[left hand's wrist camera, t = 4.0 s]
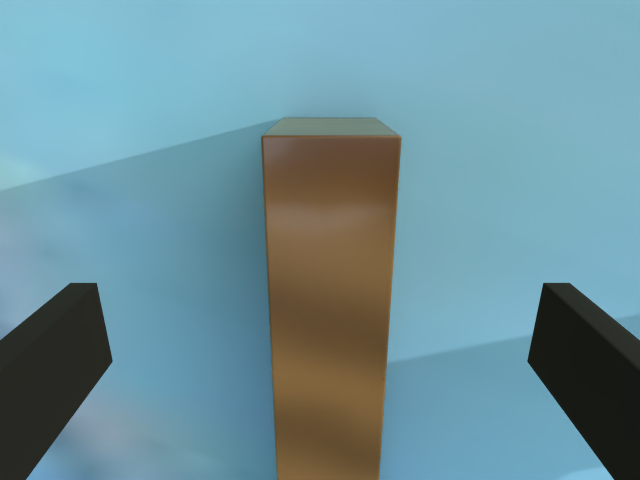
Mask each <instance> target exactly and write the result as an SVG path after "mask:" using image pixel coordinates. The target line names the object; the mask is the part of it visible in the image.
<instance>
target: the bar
mask: <svg viewBox="0 0 640 480" xmlns="http://www.w3.org/2000/svg"><path fill="white" fill-rule="evenodd" d="M261 147H262V169H263V190H264V212H265V233H266V254H267V276H268V297H269V318H270V340H271V361H272V382H273V404H274V425H275V446H276V468H277V480H379V474H380V459H381V444H382V428H383V413H384V398H385V382H386V367H387V351H388V336H389V321H390V305H391V290H392V274H393V259H394V244H395V228H396V213H397V198H398V182H399V167H400V151H401V136H400V135H399V134H397V133H396V132H394V131H393V130H392V129H390V128H389V127H388V126H386V125H385V124H383V123H382V122H381V121H379V120H378V119H377V118H282V119H281V120H280V121H279V122H277V123H276V124H275V125H274V126H273V127H272V128H270V129H269V130H268V131H267V132H266V133H265V134H263V135H262V137H261Z"/></svg>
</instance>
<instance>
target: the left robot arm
mask: <svg viewBox="0 0 640 480" xmlns="http://www.w3.org/2000/svg"><path fill="white" fill-rule="evenodd" d="M112 362H113V361H112V356H111V351H110V346H109V341H108V336H107V331H106V327H105V322H104V317H103V312H102V307H101V302H100V297H99V292H98V288H97V283H70V284H69V285H67V286H66V287H65V288H64V289H63V290H61V291H60V292H59V293H58V294H56V295H55V296H54V297H53V298H52V299H50V300H49V301H48V302H47V303H45V304H44V305H43V306H42V307H41V308H39V309H38V310H37V311H36V312H34V313H33V314H32V315H31V316H30V317H28V318H27V319H26V320H25V321H23V322H22V323H21V324H20V325H19V326H17V327H16V328H15V329H14V330H12V331H11V332H10V333H9V334H8V335H6V336H5V337H4V338H3V339H1V340H0V480H26V479H27V477H28V476H29V475H30V473H31V472H32V471H33V469H34V468H35V466H36V465H37V464H38V462H39V461H40V460H41V458H42V457H43V456H44V454H45V453H46V451H47V450H48V449H49V447H50V446H51V445H52V443H53V442H54V441H55V439H56V438H57V437H58V435H59V434H60V432H61V431H62V430H63V428H64V427H65V426H66V424H67V423H68V422H69V420H70V419H71V417H72V416H73V415H74V413H75V412H76V411H77V409H78V408H79V407H80V405H81V404H82V402H83V401H84V400H85V398H86V397H87V396H88V394H89V393H90V392H91V390H92V389H93V387H94V386H95V385H96V383H97V382H98V381H99V379H100V378H101V377H102V375H103V374H104V373H105V371H106V370H107V368H108V367H109V366H110V364H111V363H112ZM527 362H528V363H529V364H530V366H531V367H532V368H533V370H534V371H535V373H536V374H537V375H538V377H539V378H540V379H541V381H542V382H543V383H544V385H545V386H546V387H547V389H548V390H549V392H550V393H551V394H552V396H553V397H554V398H555V400H556V401H557V402H558V404H559V405H560V407H561V408H562V409H563V411H564V412H565V413H566V415H567V416H568V417H569V419H570V420H571V422H572V423H573V424H574V426H575V427H576V428H577V430H578V431H579V432H580V434H581V435H582V437H583V438H584V439H585V441H586V442H587V443H588V445H589V446H590V447H591V449H592V450H593V452H594V453H595V454H596V456H597V457H598V458H599V460H600V461H601V462H602V464H603V465H604V466H605V468H606V469H607V471H608V472H609V473H610V475H611V476H612V477H613V479H614V480H640V340H639V339H637V338H636V337H635V336H634V335H632V334H631V333H630V332H629V331H628V330H626V329H625V328H624V327H623V326H621V325H620V324H619V323H618V322H617V321H615V320H614V319H613V318H612V317H610V316H609V315H608V314H607V313H606V312H604V311H603V310H602V309H601V308H599V307H598V306H597V305H596V304H595V303H593V302H592V301H591V300H590V299H588V298H587V297H586V296H585V295H584V294H582V293H581V292H580V291H579V290H577V289H576V288H575V287H574V286H573V285H571V284H570V283H543V288H542V292H541V297H540V302H539V307H538V312H537V317H536V322H535V327H534V331H533V336H532V341H531V346H530V351H529V356H528V361H527Z"/></svg>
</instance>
